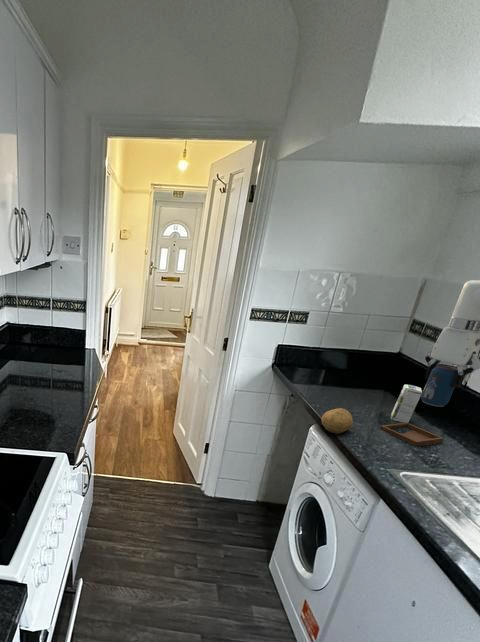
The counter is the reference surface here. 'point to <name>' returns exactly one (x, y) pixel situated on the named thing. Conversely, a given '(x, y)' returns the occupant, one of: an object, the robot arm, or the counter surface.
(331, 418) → the potato
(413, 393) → the syrup box
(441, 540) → the counter surface
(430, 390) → the soda can
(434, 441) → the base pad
